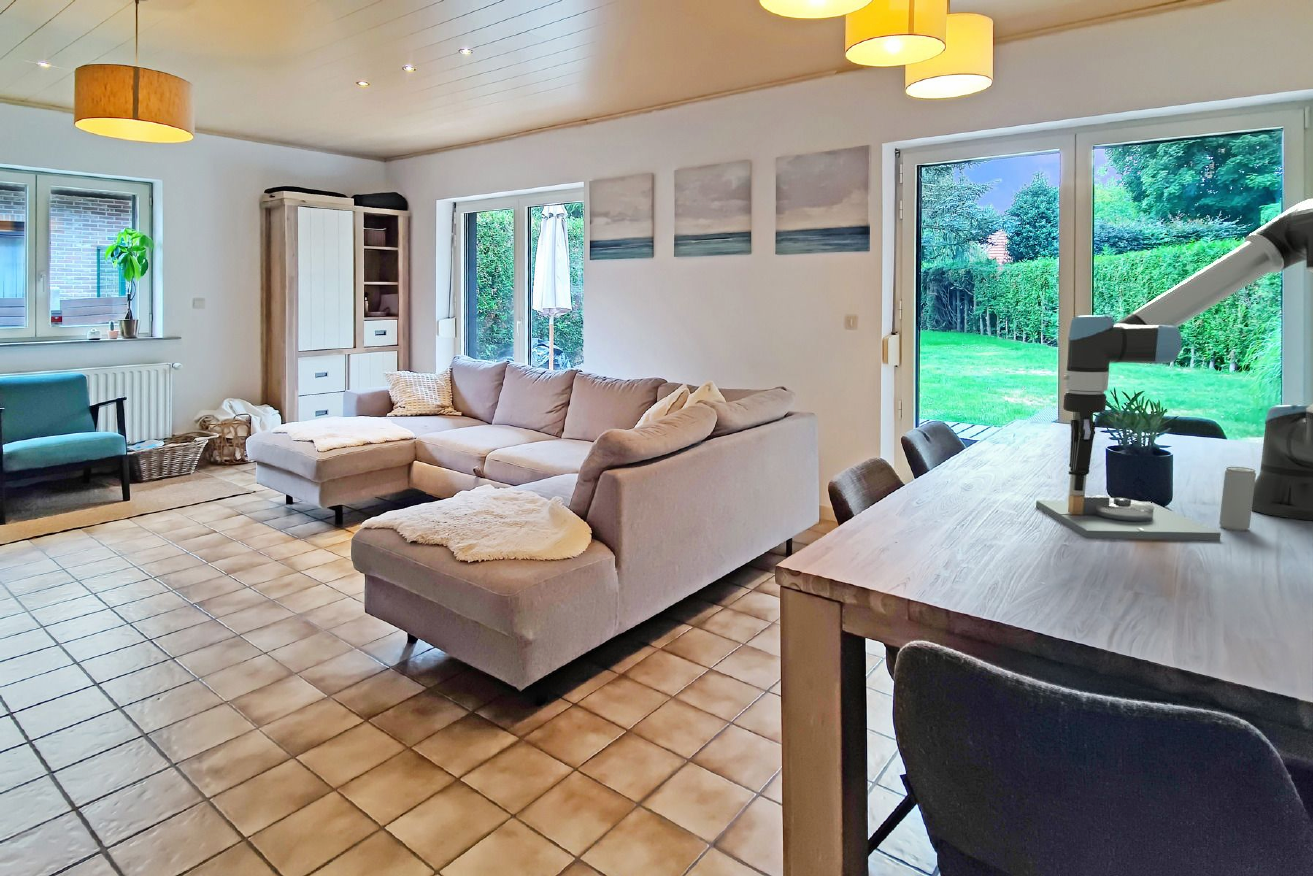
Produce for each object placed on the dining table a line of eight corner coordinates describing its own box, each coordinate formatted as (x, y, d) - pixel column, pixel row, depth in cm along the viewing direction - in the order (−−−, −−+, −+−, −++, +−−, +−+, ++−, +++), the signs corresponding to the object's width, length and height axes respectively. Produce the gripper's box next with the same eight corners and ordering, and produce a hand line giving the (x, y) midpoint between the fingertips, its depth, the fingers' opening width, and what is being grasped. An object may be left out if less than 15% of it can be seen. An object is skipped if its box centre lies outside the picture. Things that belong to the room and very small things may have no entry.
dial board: (1149, 508, 165) (1150, 500, 165) (1220, 540, 142) (1221, 531, 142) (1035, 506, 168) (1036, 498, 167) (1085, 538, 144) (1086, 529, 144)
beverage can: (1254, 532, 147) (1261, 471, 145) (1226, 530, 148) (1233, 471, 146) (1240, 525, 152) (1247, 466, 150) (1213, 524, 153) (1220, 466, 151)
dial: (1135, 507, 159) (1136, 490, 159) (1164, 521, 149) (1166, 503, 148) (1058, 506, 161) (1059, 489, 160) (1082, 520, 150) (1083, 502, 149)
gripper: (1060, 388, 161) (1051, 496, 165) (1069, 394, 149) (1059, 510, 153) (1100, 389, 158) (1090, 499, 162) (1113, 395, 146) (1102, 513, 150)
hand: (1075, 504), depth 157 cm, fingers closed
